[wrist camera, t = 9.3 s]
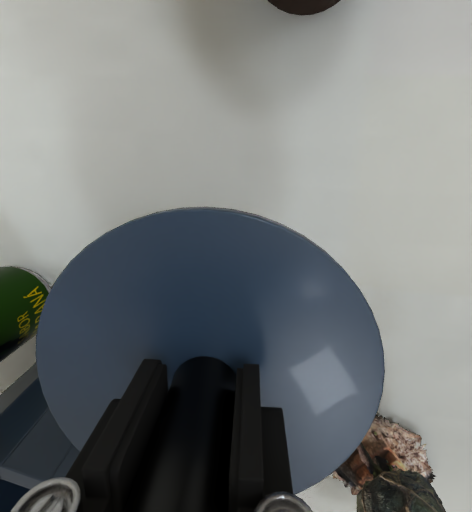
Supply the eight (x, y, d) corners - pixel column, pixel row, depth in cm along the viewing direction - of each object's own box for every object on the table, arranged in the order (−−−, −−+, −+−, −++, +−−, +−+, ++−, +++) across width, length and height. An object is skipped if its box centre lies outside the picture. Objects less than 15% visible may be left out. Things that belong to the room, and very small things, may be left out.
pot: (-24, 343, 24) (-197, 453, 14) (193, 353, 23) (156, 475, 14) (5, 459, 27) (-120, 607, 18) (196, 470, 26) (167, 630, 17)
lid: (30, 199, 11) (-304, 246, 4) (397, 209, 10) (650, 279, 4) (76, 472, 14) (-67, 722, 8) (350, 490, 14) (437, 773, 7)
